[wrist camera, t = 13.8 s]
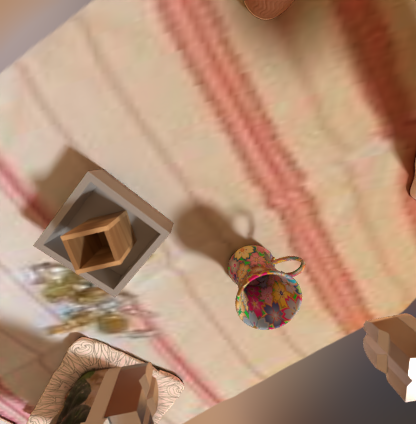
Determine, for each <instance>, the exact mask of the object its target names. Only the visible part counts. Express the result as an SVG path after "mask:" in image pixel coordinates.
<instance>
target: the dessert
mask: <svg viewBox="0 0 416 424" xmlns="http://www.w3.org/2000/svg"><path fill="white" fill-rule="evenodd" d="M0 420H2V421H4V422H6V423H8V424H14V423H12V422H10V421H8V420H6V419H4V418H2V417H0Z"/></svg>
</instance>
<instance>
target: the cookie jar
mask: <svg viewBox="0 0 416 424" xmlns="http://www.w3.org/2000/svg"><path fill="white" fill-rule="evenodd" d="M141 363H145V362H143V361H141V360H138V359H136V358H134V357H131V356H130V355H128V354H125V353H123V352H121V351H118V350H115V349H113V348H111V347H110V346H108V345H106V344H104V343H102V342H99V341H96V340H93V339H90V338H87V337H81V338H79V339H78V340H77V341H75V342H74V343H73V344H72V345H71V346H70V347H69V348H68V350H67V353H66V355H65V357H64V358H63V361H62V363H61V365H60V366H59V368H58V369H57V370H56V371H55V372H54V374H53V375H52V377H51V380H50V382H49V384H48V385H47V387H46V389H45V391H44V393H43V394H42V396H41V397H40V399H39V401H38V403H37V405H36V407H35V409H34V410H33V411H32V413H31V415H30V417H29V419H28V422H27V424H80V423H83V422H86V420H87V417H88V415H89V412H90V410H91V407H92V405H93V402H94V400H95V398H96V395H97V393H98V390H99V388H100V385H101V383H102V380H103V378H104V376H105V373H106V372H107V371H108V370H109V369H111V368H117V367H123V366H128V365H134V364H141ZM152 367H153V366H152ZM152 376H153V377H155V378H156V380H157V384H158V407H157V411H156V413H155V414H154V416H153V417H152V419H153V422H154V424H157V423H158V422H159V421H160V419H161V417H162V416H163V415H164V414H165V413H166V412H167V410H169V409H170V407H171V406H172V405H173V404H174V402H175V399H177V398H179V395H180V394H181V392H182V391H183V389H184V388H185V385H184V383H183V382H181V380H180V379H179V378H178V377H176V376H174V375H173V374H171V373H168V372H165V371H161V370H158V369H156V368H155V367H153V374H152Z"/></svg>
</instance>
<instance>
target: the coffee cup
mask: <svg viewBox="0 0 416 424" xmlns="http://www.w3.org/2000/svg"><path fill="white" fill-rule="evenodd" d="M293 2H294V0H244V3H245V5H246V7H247V9H248V10H249V11H250V12H251V13H252V14H253V15H254V16H256V17H257V18H260V19H264V20H268V19H273V18H275V17H277V16H279V15H280V14H281V13H282V12H284V11H285V10H286V9H287V8H288V7H289V6H290V5H291V4H292V3H293Z"/></svg>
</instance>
